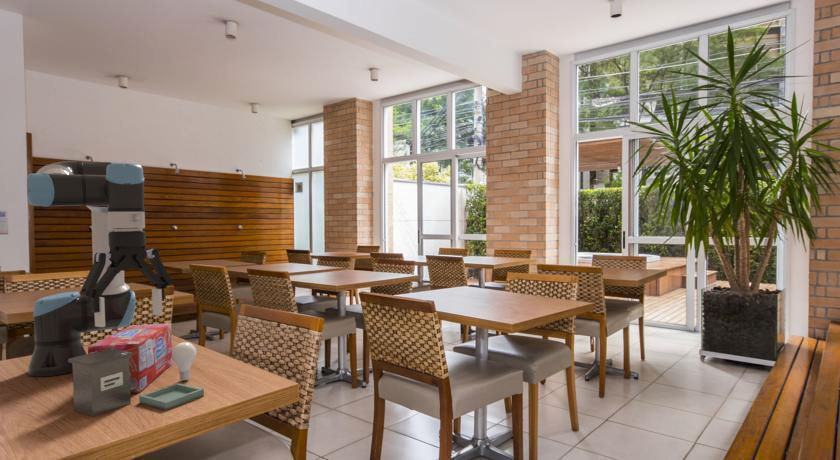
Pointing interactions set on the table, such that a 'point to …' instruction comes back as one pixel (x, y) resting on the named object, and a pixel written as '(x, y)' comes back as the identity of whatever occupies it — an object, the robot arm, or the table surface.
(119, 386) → the grey lidded bin
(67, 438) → the table surface
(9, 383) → the table surface
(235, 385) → the table surface
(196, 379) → the table surface
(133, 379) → the box
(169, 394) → the tray
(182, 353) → the lightbulb
